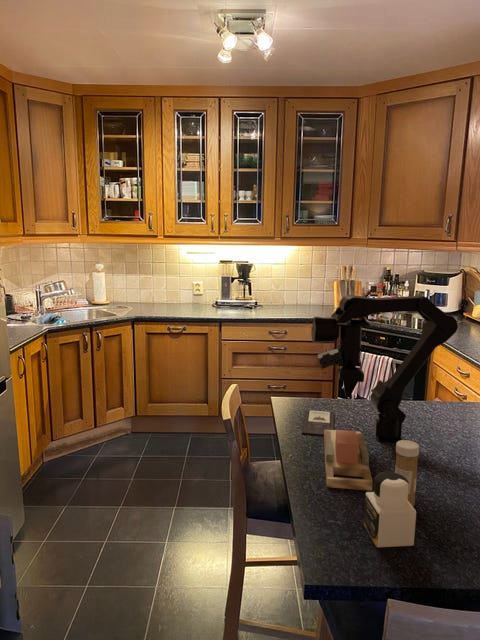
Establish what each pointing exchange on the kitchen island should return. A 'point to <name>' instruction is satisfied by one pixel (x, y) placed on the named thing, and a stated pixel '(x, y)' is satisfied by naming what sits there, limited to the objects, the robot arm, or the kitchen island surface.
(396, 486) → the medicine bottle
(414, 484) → the sprinkles bottle
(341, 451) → the block
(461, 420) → the kitchen island surface
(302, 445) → the kitchen island surface
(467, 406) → the kitchen island surface
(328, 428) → the chocolate bar
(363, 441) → the beige tray
